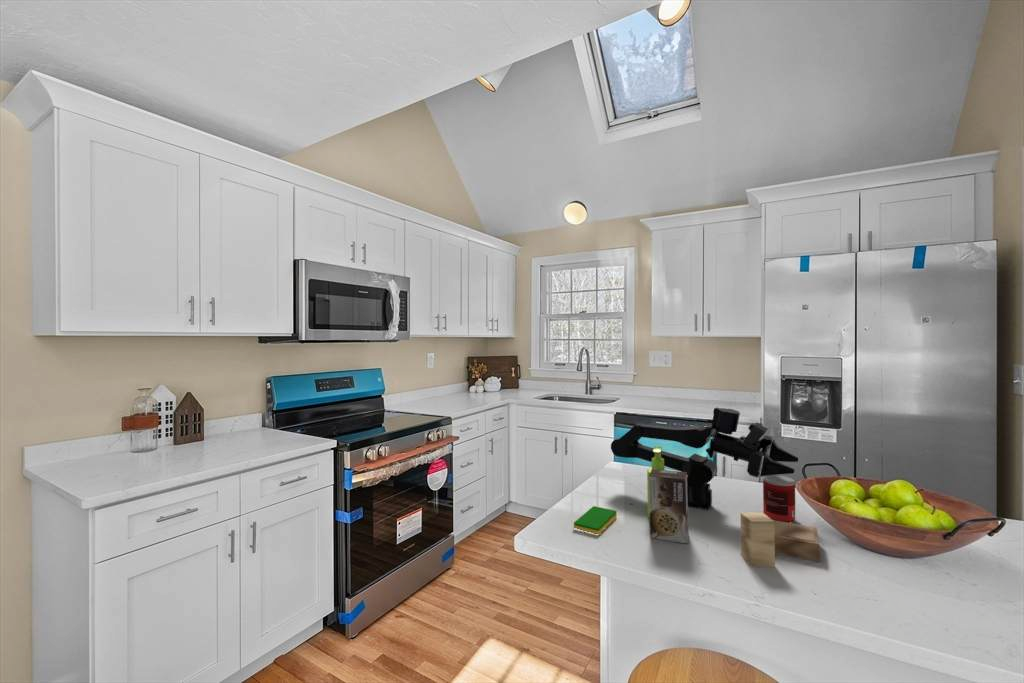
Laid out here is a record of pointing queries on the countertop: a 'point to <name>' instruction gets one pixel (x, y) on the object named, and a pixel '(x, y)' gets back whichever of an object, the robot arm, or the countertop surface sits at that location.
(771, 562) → the oak block
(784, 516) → the canned food
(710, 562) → the countertop surface
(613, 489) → the countertop surface
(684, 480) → the printed cardboard box
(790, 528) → the light wood flat block
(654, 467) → the soap dispenser
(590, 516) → the dish sponge
